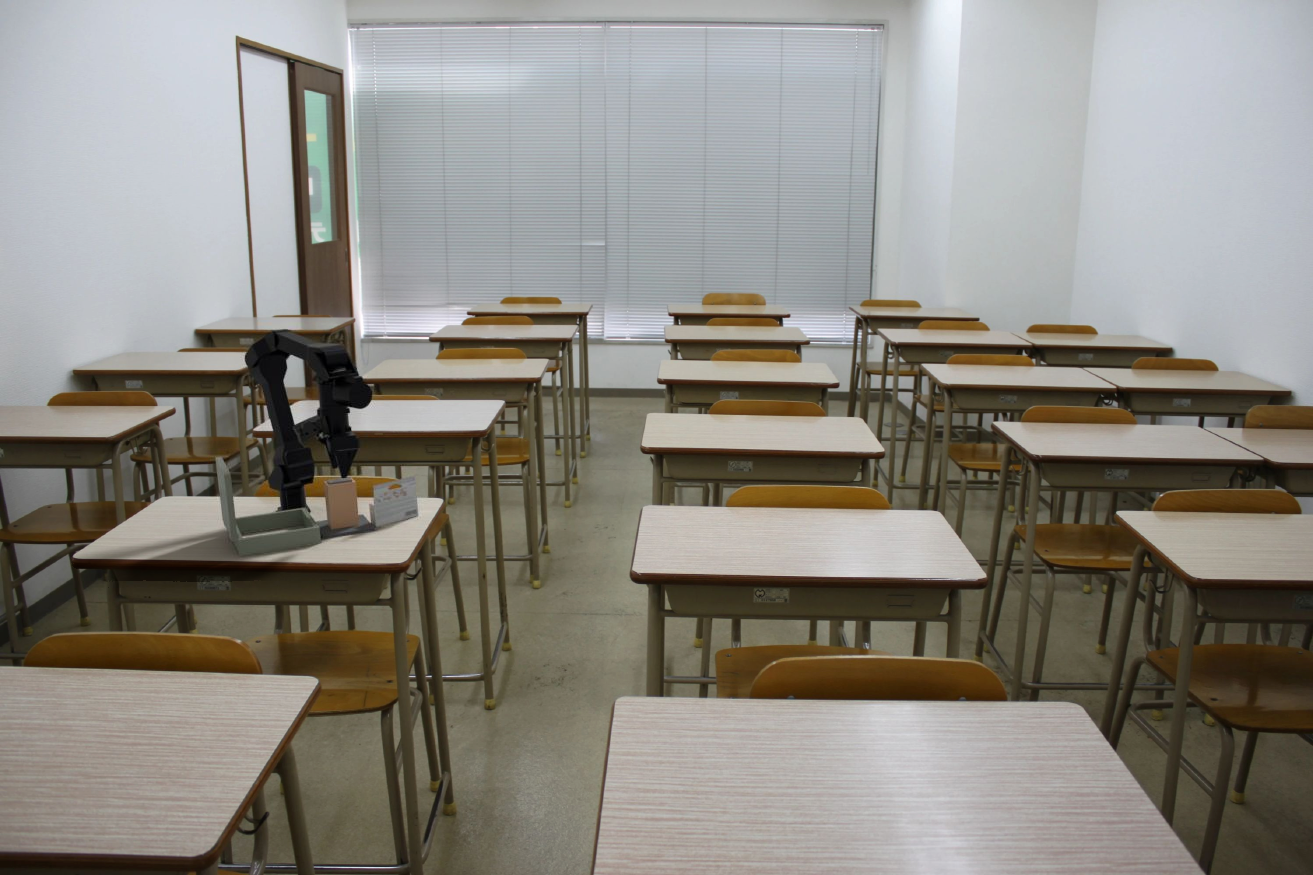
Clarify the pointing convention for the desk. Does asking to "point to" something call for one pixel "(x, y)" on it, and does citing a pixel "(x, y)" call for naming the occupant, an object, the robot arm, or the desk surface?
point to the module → (341, 503)
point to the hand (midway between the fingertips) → (339, 473)
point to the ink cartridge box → (394, 502)
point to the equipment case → (263, 523)
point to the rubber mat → (345, 528)
